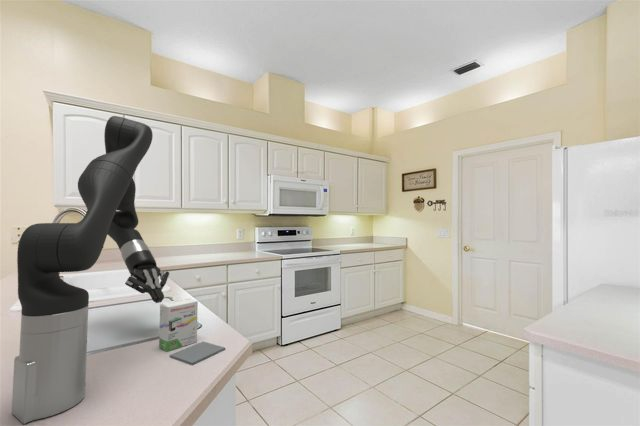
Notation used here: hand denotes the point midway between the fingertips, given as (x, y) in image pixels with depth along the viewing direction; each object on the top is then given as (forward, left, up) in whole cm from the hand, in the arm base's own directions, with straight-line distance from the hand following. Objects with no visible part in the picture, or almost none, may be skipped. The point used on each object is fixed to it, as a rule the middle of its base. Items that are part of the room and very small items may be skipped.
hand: (160, 300), depth 85 cm
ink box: (0, -9, -11) cm, 14 cm away
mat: (-1, -19, -11) cm, 22 cm away
